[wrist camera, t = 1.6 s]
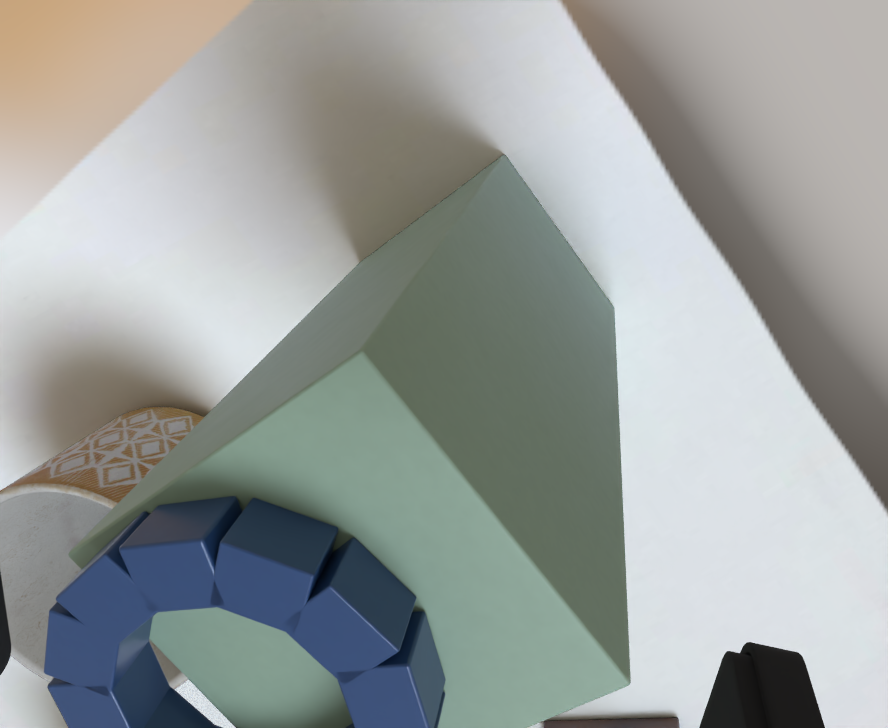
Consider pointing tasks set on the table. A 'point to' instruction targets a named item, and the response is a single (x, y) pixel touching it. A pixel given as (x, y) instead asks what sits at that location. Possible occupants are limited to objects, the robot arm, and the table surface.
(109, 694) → the ring
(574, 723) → the stand
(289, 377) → the block
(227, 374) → the table surface
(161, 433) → the planter
